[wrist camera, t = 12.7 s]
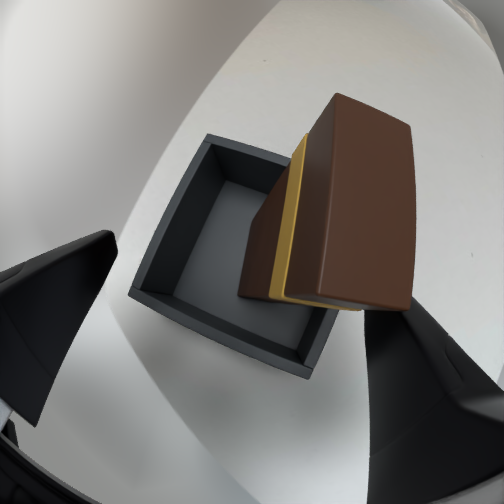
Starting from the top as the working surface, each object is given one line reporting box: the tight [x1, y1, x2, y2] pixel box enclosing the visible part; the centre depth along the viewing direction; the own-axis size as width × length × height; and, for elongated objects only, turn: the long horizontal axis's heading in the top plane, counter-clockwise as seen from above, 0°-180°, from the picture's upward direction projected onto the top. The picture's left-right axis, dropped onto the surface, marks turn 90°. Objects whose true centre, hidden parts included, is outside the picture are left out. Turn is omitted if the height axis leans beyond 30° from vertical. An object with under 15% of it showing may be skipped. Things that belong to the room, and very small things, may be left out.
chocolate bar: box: [237, 93, 416, 311], centre depth 12 cm, size 5×2×13 cm, turn 169°
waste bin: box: [128, 134, 339, 380], centre depth 16 cm, size 10×10×6 cm
